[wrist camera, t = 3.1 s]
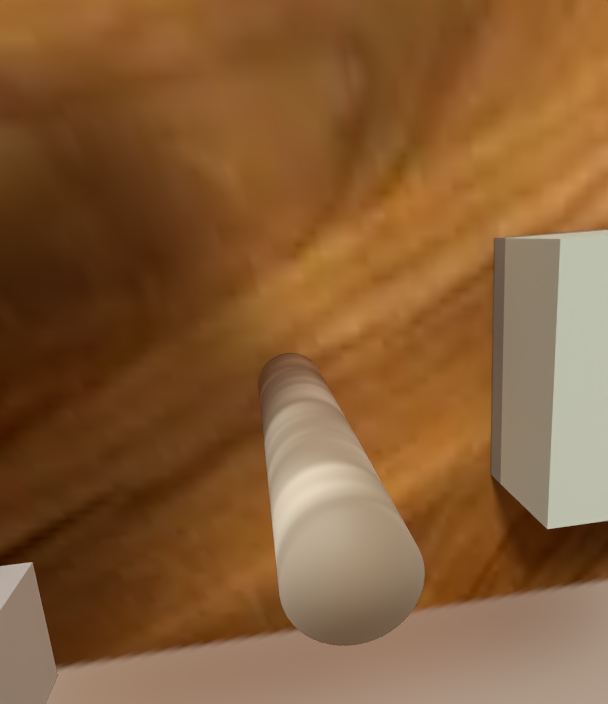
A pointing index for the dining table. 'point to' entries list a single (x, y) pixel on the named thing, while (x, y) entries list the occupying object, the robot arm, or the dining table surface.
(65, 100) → the dining table surface
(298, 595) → the birch pin
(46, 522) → the dining table surface
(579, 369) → the hole block
